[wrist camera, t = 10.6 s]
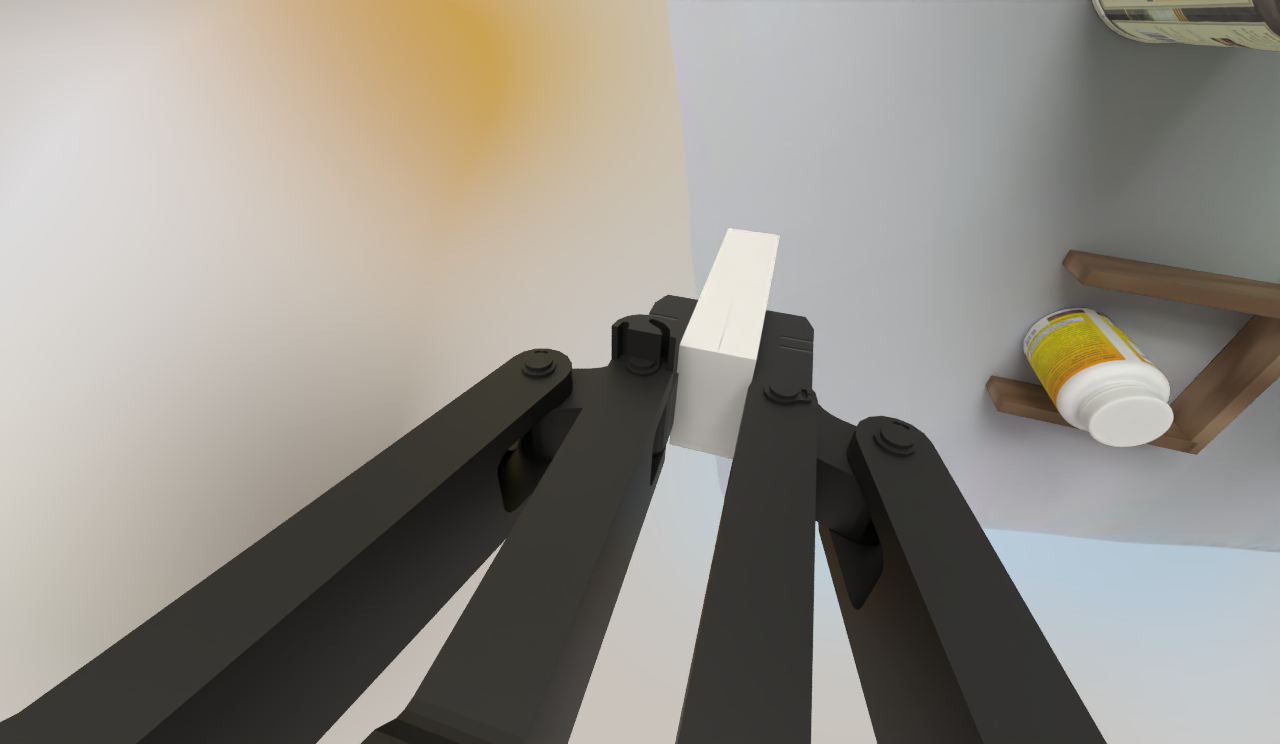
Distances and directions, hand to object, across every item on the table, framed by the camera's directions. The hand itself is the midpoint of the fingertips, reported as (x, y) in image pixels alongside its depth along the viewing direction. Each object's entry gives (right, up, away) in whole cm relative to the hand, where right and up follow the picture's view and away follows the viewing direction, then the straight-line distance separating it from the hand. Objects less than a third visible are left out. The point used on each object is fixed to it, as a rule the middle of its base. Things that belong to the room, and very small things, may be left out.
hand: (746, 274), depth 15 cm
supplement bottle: (+29, 0, +23) cm, 37 cm away
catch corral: (+32, -1, +22) cm, 39 cm away
